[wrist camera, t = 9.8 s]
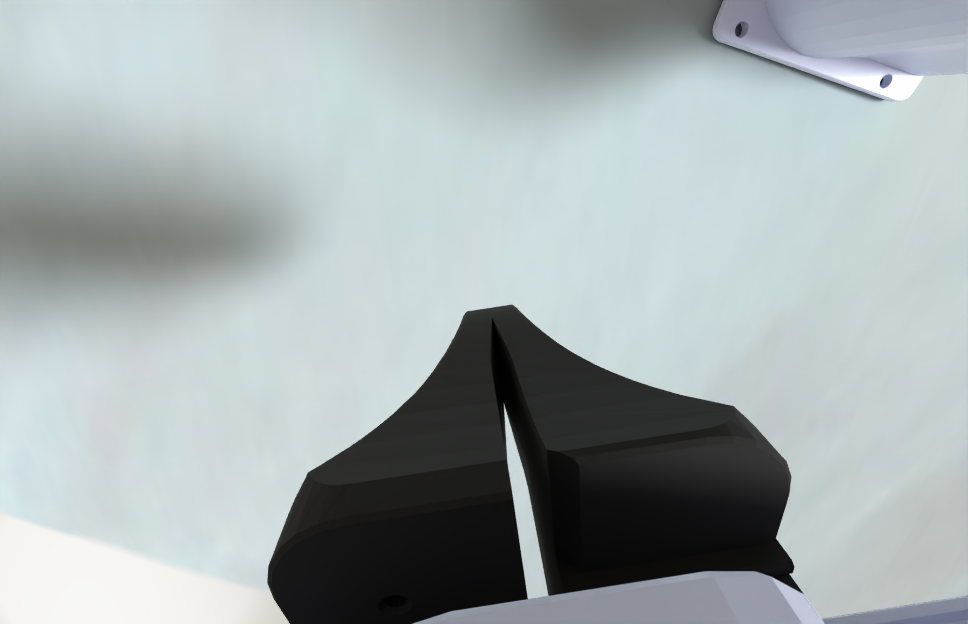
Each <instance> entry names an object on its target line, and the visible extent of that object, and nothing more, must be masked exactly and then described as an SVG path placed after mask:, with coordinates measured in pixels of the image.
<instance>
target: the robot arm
mask: <svg viewBox="0 0 968 624" xmlns="http://www.w3.org/2000/svg"><path fill="white" fill-rule="evenodd" d="M738 23H740V24H741V26H742V32H741V34H740V36H739V37H737V36H736V35H735V28H736V26H737V25H738ZM713 36H714V38H715V39H716V40H717V41H719V42H722V43H724V44H727V45H730V46H733V47H736V48H739V49H742V50H744V51H747V52H750V53H753V54H756V55H759V56H762V57H764V58H767V59H770V60H773V61H776V62H779V63H782V64H784V65H787V66H790V67H793V68H796V69H799V70H802V71H804V72H807V73H810V74H813V75H816V76H819V77H822V78H824V79H827V80H830V81H833V82H836V83H839V84H842V85H844V86H847V87H850V88H853V89H856V90H859V91H862V92H864V93H867V94H870V95H873V96H876V97H879V98H882V99H884V100H887V101H903V100H905V99H906V98H908V97H909V96H910V95H911V94H912V92H913V91H914V89H915V88H916V86H917V85H918V83H919V81H920V80H921V78H922V77H923V76H932V75H951V74H968V0H723V2H722V5H721V7H720V10H719V12H718V15H717V17H716V19H715V22H714V25H713ZM882 78H884V80H883V83H882V85H881V86H880V84H879V83H880V81H881V79H882ZM504 405H505V408H506V412H507V415H508V419H509V422H510V425H511V429H512V432H513V436H514V439H515V442H516V446H517V449H518V452H519V456H520V459H521V462H522V466H523V469H524V473H525V477H526V481H527V485H528V490H529V495H530V500H531V505H532V510H533V516H534V521H535V526H536V531H537V537H538V542H539V547H540V553H541V558H542V563H543V568H544V574H545V579H546V585H547V590H548V595H549V596H546V597H539V598H533V599H528V598H527V591H526V584H525V577H524V570H523V564H522V557H521V550H520V543H519V536H518V529H517V523H516V516H515V509H514V502H513V496H512V489H511V483H510V477H509V471H508V464H507V450H506V433H505V417H504ZM790 484H791V474H790V471H789V468H788V465H787V461H786V460H785V459H784V458H783V457H782V456H781V455H780V454H779V453H778V452H777V451H776V450H775V448H774V447H773V446H772V445H771V444H770V443H769V442H768V441H767V439H766V438H765V437H764V436H763V435H762V434H761V433H760V432H759V430H758V429H757V428H756V427H755V426H754V425H753V424H752V423H751V422H750V421H749V420H748V419H747V418H746V417H745V416H744V415H743V414H741V413H740V412H739V411H738V410H737V409H736V408H735V407H734V406H730V405H726V404H721V403H716V402H712V401H707V400H702V399H697V398H693V397H688V396H683V395H679V394H675V393H672V392H668V391H665V390H662V389H658V388H655V387H651V386H648V385H645V384H642V383H639V382H636V381H633V380H630V379H628V378H625V377H623V376H620V375H618V374H615V373H613V372H610V371H608V370H606V369H604V368H601V367H599V366H597V365H595V364H593V363H591V362H589V361H587V360H585V359H583V358H582V357H580V356H578V355H576V354H574V353H573V352H571V351H569V350H568V349H566V348H565V347H563V346H562V345H560V344H558V343H557V342H556V341H554V340H553V339H551V338H550V337H549V336H548V335H546V334H545V333H544V332H543V331H541V330H540V329H539V328H538V327H536V326H535V325H534V324H533V323H532V322H531V321H530V320H529V319H527V318H526V317H525V316H524V315H523V314H522V313H521V312H520V311H519V310H518V309H517V308H516V307H515V306H513V305H507V306H500V307H494V308H487V309H480V310H474V311H467V312H466V313H465V315H464V316H463V319H462V321H461V324H460V326H459V329H458V331H457V333H456V335H455V337H454V339H453V340H452V342H451V344H450V346H449V348H448V349H447V351H446V353H445V354H444V356H443V357H442V359H441V360H440V362H439V363H438V365H437V366H436V368H435V369H434V371H433V372H432V373H431V375H430V376H429V377H428V379H427V380H426V381H425V382H424V384H423V385H422V386H421V387H420V388H419V389H418V391H417V392H416V393H415V394H414V395H413V396H412V397H411V398H410V399H408V400H407V401H406V402H405V403H404V404H403V405H402V406H401V407H400V408H399V409H398V410H397V411H396V412H395V413H394V414H393V415H391V416H390V417H389V418H388V419H387V420H385V421H384V422H383V423H382V424H380V425H379V426H378V427H377V428H375V429H374V430H373V431H371V432H370V433H369V434H367V435H366V436H365V437H363V438H362V439H361V440H359V441H358V442H356V443H355V444H353V445H352V446H350V447H349V448H347V449H346V450H344V451H342V452H341V453H339V454H338V455H336V456H334V457H333V458H331V459H330V460H328V461H326V462H325V463H323V464H322V465H320V466H319V467H317V468H315V469H313V470H312V471H310V472H308V474H307V476H306V478H305V480H304V482H303V484H302V486H301V488H300V490H299V492H298V494H297V496H296V498H295V500H294V503H293V505H292V507H291V510H290V512H289V514H288V517H287V519H286V522H285V525H284V527H283V530H282V532H281V535H280V538H279V540H278V543H277V545H276V548H275V551H274V553H273V556H272V558H271V561H270V564H269V566H268V582H267V583H268V586H269V588H270V591H271V593H272V595H273V598H274V600H275V601H276V603H277V604H278V606H279V607H280V609H281V611H282V612H283V614H284V615H285V617H286V618H287V620H288V621H289V623H290V624H968V596H962V597H956V598H949V599H943V600H937V601H931V602H924V603H918V604H912V605H905V606H899V607H893V608H886V609H880V610H874V611H867V612H861V613H855V614H849V615H842V616H836V617H830V618H823V619H821V617H820V616H819V615H818V613H817V612H816V610H815V609H814V608H813V606H812V605H811V604H810V602H809V601H808V599H807V598H806V597H805V595H804V594H803V592H802V591H801V590H800V588H799V587H798V585H797V584H796V583H795V581H794V580H793V579H792V577H791V576H790V573H793V570H794V565H793V562H792V559H791V558H790V557H789V555H788V554H787V553H786V551H785V550H784V549H783V547H782V546H781V545H780V543H779V542H778V541H777V539H776V536H777V533H778V529H779V526H780V523H781V520H782V516H783V513H784V510H785V507H786V504H787V500H788V497H789V492H790Z"/></svg>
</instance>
